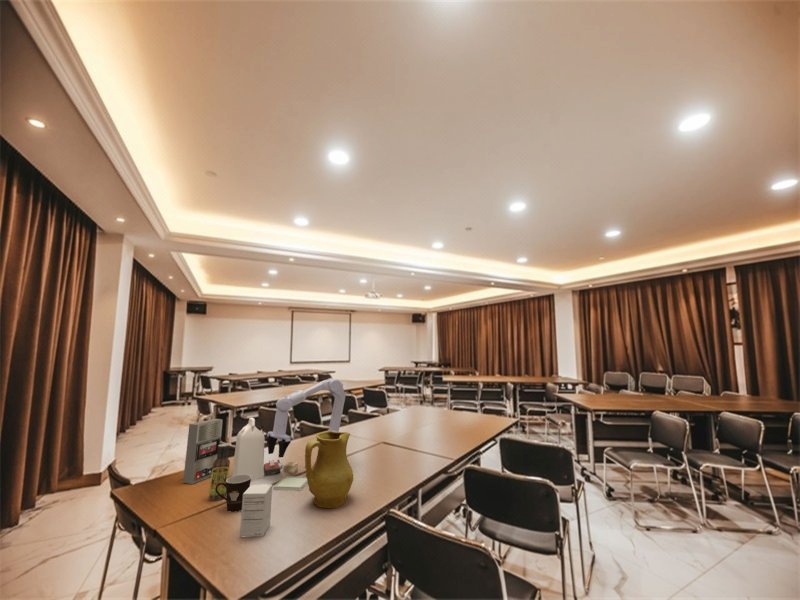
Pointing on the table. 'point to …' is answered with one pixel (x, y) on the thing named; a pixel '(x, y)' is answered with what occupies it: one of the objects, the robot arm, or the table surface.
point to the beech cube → (290, 469)
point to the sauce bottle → (219, 473)
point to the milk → (249, 452)
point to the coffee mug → (235, 491)
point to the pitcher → (329, 469)
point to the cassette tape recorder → (202, 449)
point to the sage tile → (291, 483)
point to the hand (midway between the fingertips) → (275, 455)
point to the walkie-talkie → (272, 468)
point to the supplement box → (256, 510)
